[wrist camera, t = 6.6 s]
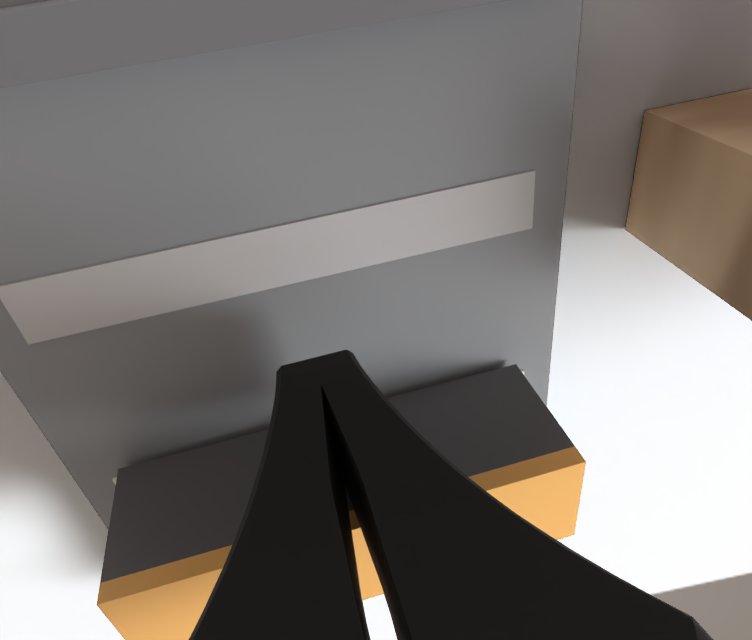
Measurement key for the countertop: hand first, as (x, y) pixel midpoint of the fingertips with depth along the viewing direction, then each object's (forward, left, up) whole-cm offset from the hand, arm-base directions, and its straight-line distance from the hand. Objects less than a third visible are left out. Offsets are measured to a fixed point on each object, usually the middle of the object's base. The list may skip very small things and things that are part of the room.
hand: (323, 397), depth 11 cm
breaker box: (0, +1, -3) cm, 3 cm away
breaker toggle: (0, +3, -1) cm, 3 cm away
